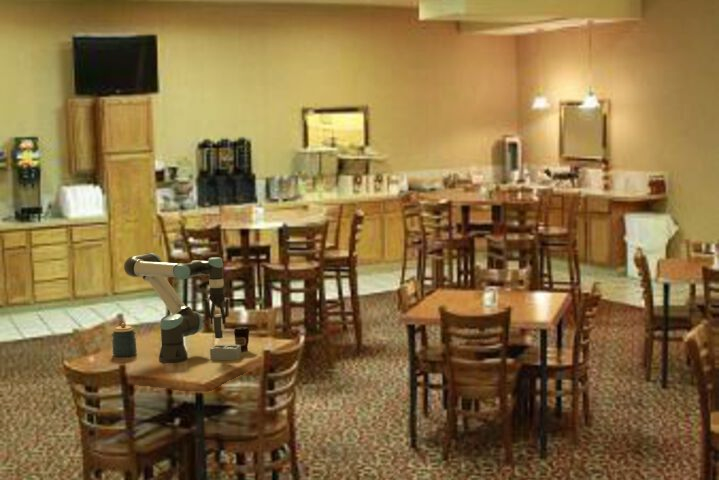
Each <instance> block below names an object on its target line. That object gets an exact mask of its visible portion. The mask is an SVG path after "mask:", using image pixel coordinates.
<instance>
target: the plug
mask: <svg viewBox="0 0 719 480" xmlns="http://www.w3.org/2000/svg"><path fill="white" fill-rule="evenodd" d="M221 318H222V315H221V313H220V314H219V313H218V314H214V325H215V330H214V339H222V338H223V337H224V336H223V331H221Z"/></svg>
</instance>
